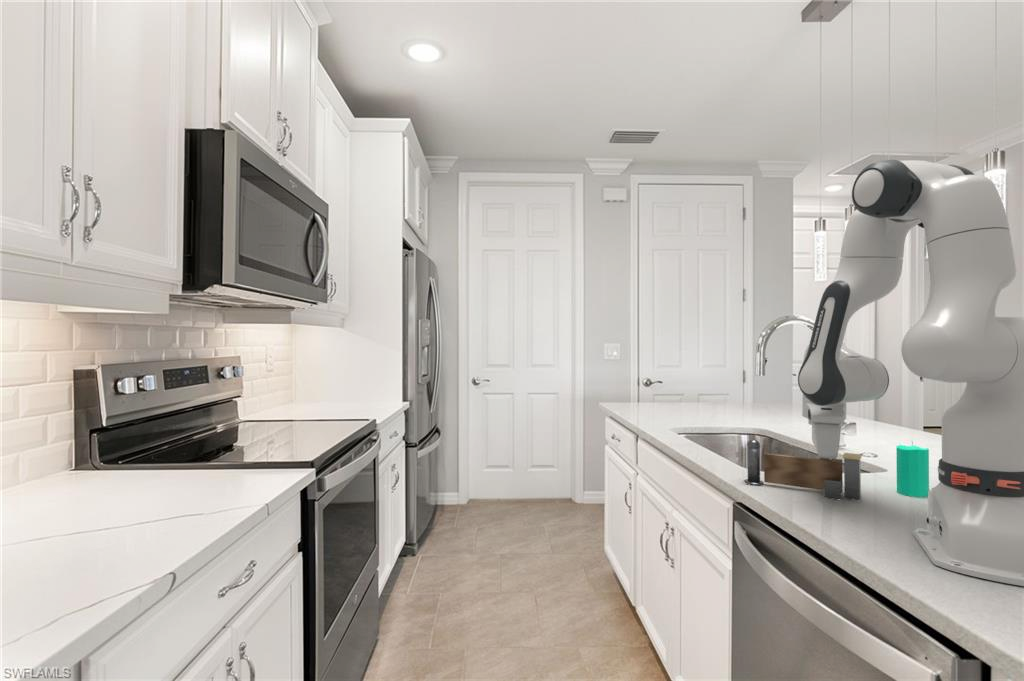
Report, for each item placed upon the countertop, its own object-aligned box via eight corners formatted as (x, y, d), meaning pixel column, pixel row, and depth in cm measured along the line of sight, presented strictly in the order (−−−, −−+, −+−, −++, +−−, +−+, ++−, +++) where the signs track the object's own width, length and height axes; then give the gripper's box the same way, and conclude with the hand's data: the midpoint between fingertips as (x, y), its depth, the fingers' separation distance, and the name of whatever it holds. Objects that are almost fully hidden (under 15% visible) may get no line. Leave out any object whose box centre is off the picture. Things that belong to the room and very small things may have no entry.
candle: (934, 498, 117) (933, 444, 117) (902, 496, 119) (901, 442, 119) (923, 490, 122) (922, 439, 122) (892, 488, 124) (892, 437, 124)
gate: (764, 482, 128) (764, 452, 128) (765, 480, 129) (765, 451, 129) (842, 492, 119) (841, 460, 119) (842, 491, 120) (842, 459, 120)
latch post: (859, 502, 114) (859, 458, 114) (824, 497, 118) (824, 454, 118) (861, 497, 118) (861, 454, 118) (827, 492, 122) (827, 450, 122)
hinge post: (761, 486, 127) (761, 441, 127) (742, 483, 130) (741, 439, 130) (765, 482, 131) (765, 438, 130) (746, 479, 133) (746, 437, 133)
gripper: (805, 403, 134) (805, 458, 134) (811, 415, 116) (811, 478, 116) (834, 405, 131) (834, 460, 132) (845, 417, 113) (844, 482, 113)
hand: (823, 469), depth 124 cm, fingers closed
